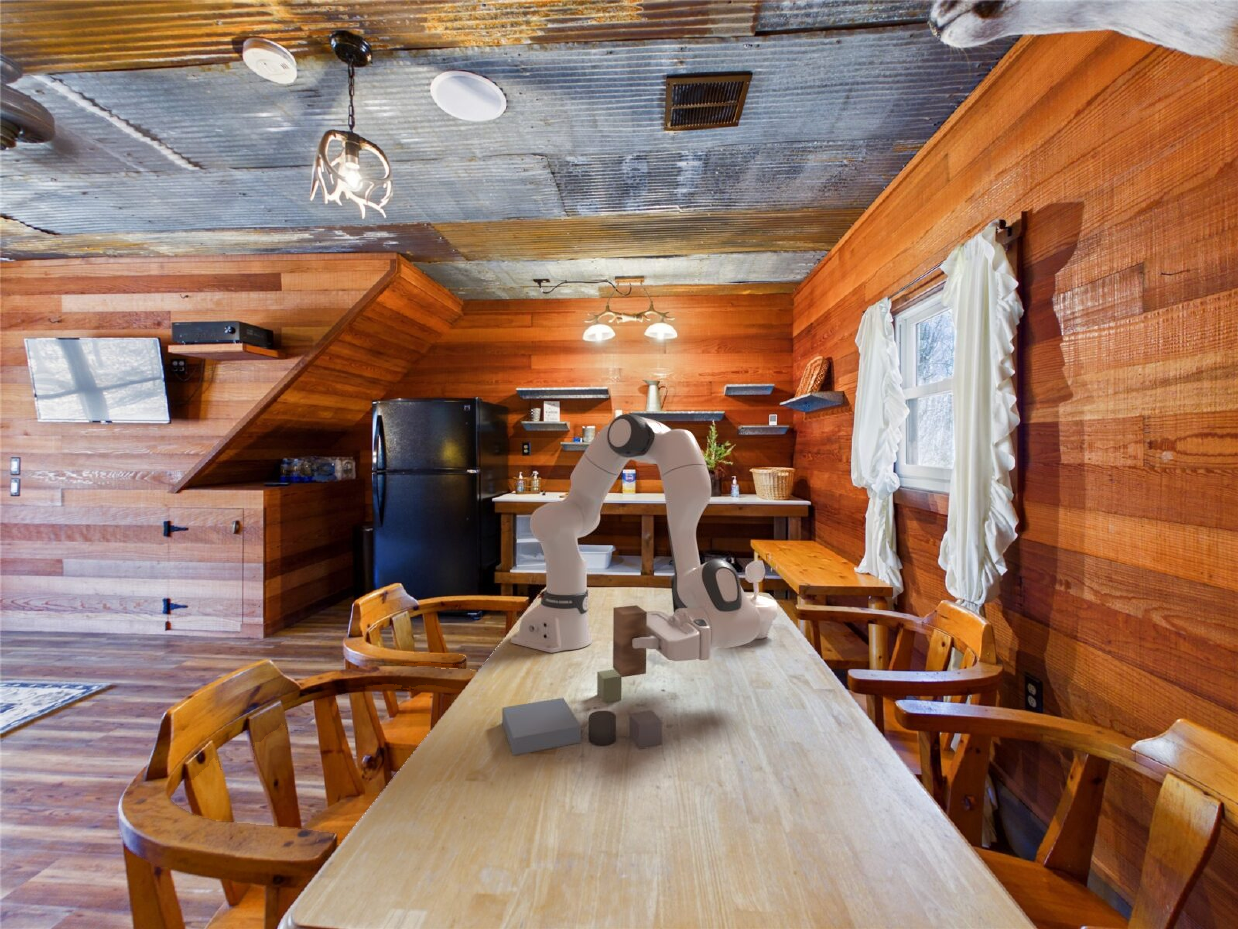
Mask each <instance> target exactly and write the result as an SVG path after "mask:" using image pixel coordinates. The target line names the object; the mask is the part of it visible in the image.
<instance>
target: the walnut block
mask: <svg viewBox="0 0 1238 929" xmlns="http://www.w3.org/2000/svg"><path fill="white" fill-rule="evenodd" d="M612 610H613V615H612V617H613V620H612V621H613V622H612V623H613V624H612V625H613V626H612V630H613V632H612V633H613V634H612V638H613V639H612V640H613V641H612V646H613V647H612V668H613V669H615V670H616V671H617V672H618V673H619V674H620V676H621V677H622V678H626V677H632V676H640V675H646V674H647V649H646V648H633V647H632V646H631V645H630V642H631V641H630V639H631V637H636V636H639V637H646V633H647V612H646V611H647V610H644V609H643V608H641V607H640V606H638V605H637V604H636V605H627V606H618V607H617V606H615V607H613V608H612Z"/></svg>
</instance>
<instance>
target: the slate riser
mask: <svg viewBox="0 0 1238 929" xmlns="http://www.w3.org/2000/svg"><path fill="white" fill-rule="evenodd" d="M501 708H502V711H501V713H502V716H501V717H502V720H501V722H502V723H501V724H502V726H503V729H504V732H505V734H506V735H505V736H506V738H507V741H508V743H509V747H510V750H511V753H512V755H513V756H518V755H521V754H522V755H525V754H528V753H533V752H539V751H543V750H549V749H554V748H558V747H559V748H560V747H563V746H569V745H575V744H579V743H582V725H581V723H580V722H579V721H578V719H577V717H576V716H575V714H574V713H573V711H572V709H571V708H570V706H569V705H568V703H567V702H566V699H565V698H564V697H560V698H552V699H549V700H548V699H547V700H541V701H535V702H529V703H528V702H527V703H524V704H523V703H522V704H515V705H510V706H504V707H501Z"/></svg>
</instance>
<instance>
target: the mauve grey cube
mask: <svg viewBox="0 0 1238 929" xmlns="http://www.w3.org/2000/svg"><path fill="white" fill-rule="evenodd" d="M628 715H629V717H628V718H629V719H628V721H629V722H628V724H629V725H628V726H629V728H628V729H629V730H628V731H629V732H628V733H629V734H628V738H629V739H630V740H631V742H632V743H633V744H634V745H635V747H636V748H637V749H638V750H644V749H647V748H653V747H657V746H662V744H663V739H662V737H663V733H662V732H663V727H662V726H663V720H662V719H661V718H660V717H659V716H658V715H657V714H656V713H655V712H654V710H652V709H649V710H648V709H647V710H642V711H637V712H631V713H629V714H628Z"/></svg>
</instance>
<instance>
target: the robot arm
mask: <svg viewBox="0 0 1238 929" xmlns="http://www.w3.org/2000/svg"><path fill="white" fill-rule="evenodd" d="M630 460H632V461H635V462H638V463H644V464H650V465H653V466H657V467H658V471H659V476H660V479H661V484H662V489H663V493H664V499H665V500H664V501H665V506H666V520H667V522H666V523H667V531H668V532H667V533H668V538H669V545H670V551H671V552H670V553H671V557H672V564H673V570H674V571H673V573H674V574H673V575H674V584H673V598H674V601H675V603H676V605H677V606H678V608H679V609H677V610H676V611H675V612H674V611H673V614H672V615H668V614H667V613H665V611H661V610H645V611H646V612H647V633H646V637H639V636H636V637H631V639H630V641H631V642H630V645H631V646H632V647H633V648H646V650H655V651H657V652H659V653H660V654H661V655H662V656H663V657H664V658H665V659H667V660H669V661H672V662H673V661H674V662H684V661H692V660H693V661H695V660H699V661H708V660H710V656H711V649H713V648H717V649H718V648H719V649H728V648H733V647H735V648H736V647H740V646H742V645H745V644H749V643H751V642H752V641H754V640H756V639H755V638H756V637H757V635H758V633H759V631H760V626H761V617H760V613H759V611H758V609H757V607H756V606H755V605H754V604H753V603H752V602H750V601H749V599H748V598H747V596H748V595H746V593H745V591H744V589H743V587H742V585H741V579H740V576H739V573H738V572H737V570H736V569H735V568H734V566H733V565H732V564H731V563H729V562H728V561H726V560H723V559H720V558H712V559H710V560H708V561H707V562H704V563H703V564H701V560H700V555H699V549H698V543H697V527H698V523H699V522H700V518H701V516H702V514H703V512H704V511H705V509H706V507H707V506H708V504H709V502H710V500H711V497H712V482H711V481H712V480H711V477H710V473H709V469H708V466H707V463H706V460H705V457H704V455H703V452H702V450H701V447H700V445H699V443H698V442H697V439H696V437H695V436H694V434H693V433H692V432H691V431H689V430H687V429H682V428H676V429H675V428H672V426H669V425H665V424H664V423H662V422H659V421H658V420H655V419H653V418H647V417H643V416H640V415H638V414H633V413H625V414H620V415H618V416H616V417H615V418H614V419H613V420H612V422H610V423H609V424H607V425H604V427H603V428H602V429H601V430H600V431H599V432H598V433H597V434H596V436H594V438H593V439H592V440H591V442H590V443H589V445H588V446H587V447H586V449H585V451H584V453H583V454H582V456H581V457H580V459H579V460H578V462H577V464H576V465H575V467H574V469H573V470H572V473H571V474H570V477H569V478H570V483H571V485H570V488H569V490H568V494H567V496H566V497H565V498H564V499H563V500H559V501H551V502H547V503H545V504H543V505H541V506H539V507H537V508H536V509H535V510H534V511H533V512H532V514H531V516H530V519H529V528H530V531H531V534H532V535H533V537H534V538H535V540H537V542H539V544H540V546H541V549H542V552H543V555H544V560H545V572H546V573H545V574H546V575H545V577H546V582H545V584H546V585H545V586H546V588H545V590H543V591H541V592H540V593H539V594H537V596H538V597H537V599H540V603H538V604H537V605H536V606H535V607H534V608H532V609H531V610H530V611H528V612H527V613H526V614H525V615H523V617H522V619H521V620H520V624H519V630H518V631H517V632H515V633H514V634H512V635H511V637H510V643H511V644H515V645H518V646H523V647H527V648H530V649H534V650H538V651H542V652H546V653H551V654H552V653H558V652H562V651H570V650H578V649H582V648H585V647H587V646H589V645H591V644H592V643H593V638H592V634H591V630H590V624H589V616H588V615H589V614H588V610H589V590H588V588H587V582H588V581H587V575H588V574H587V571H588V570H587V568H588V567H587V566H588V565H587V561H586V559H585V558H584V557H583V555H582V554H581V551H580V548H579V542H578V539H579V538H583V537H586V536H587V535H589V534H591V533H592V532H594V531H595V530H596V529H597V527H598V526H599V524H600V521H601V514H600V512H601V509H602V507H603V504H604V501H605V500H606V497H607V495H608V494H609V492H610V491H611V489H612V487H613V486H614V484H615V482H616V481H617V479H618V478H619V476H620V474H621V473H622V471H623V469H624V468H625V466H626V465H627V463H628V462H629V461H630Z"/></svg>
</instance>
